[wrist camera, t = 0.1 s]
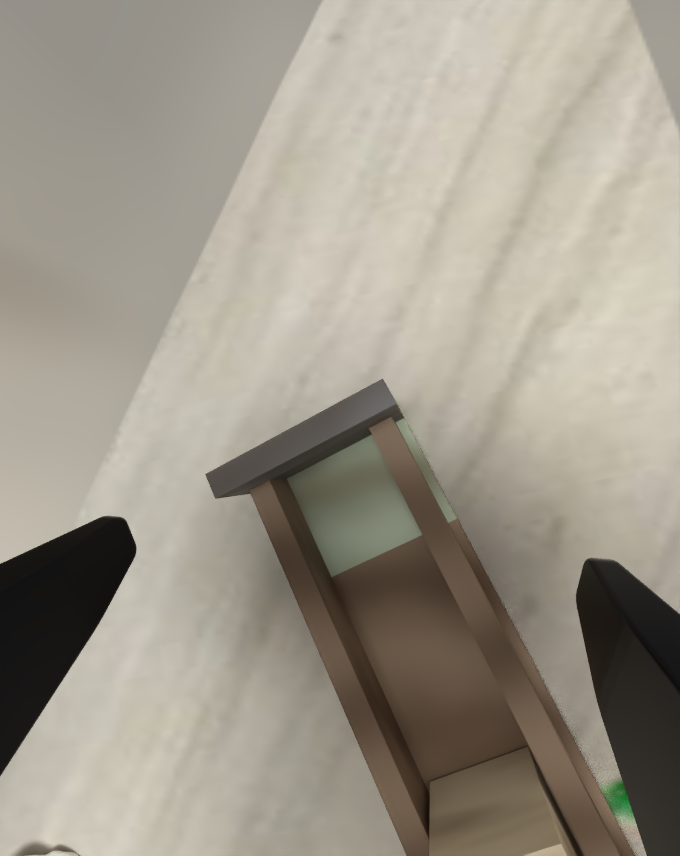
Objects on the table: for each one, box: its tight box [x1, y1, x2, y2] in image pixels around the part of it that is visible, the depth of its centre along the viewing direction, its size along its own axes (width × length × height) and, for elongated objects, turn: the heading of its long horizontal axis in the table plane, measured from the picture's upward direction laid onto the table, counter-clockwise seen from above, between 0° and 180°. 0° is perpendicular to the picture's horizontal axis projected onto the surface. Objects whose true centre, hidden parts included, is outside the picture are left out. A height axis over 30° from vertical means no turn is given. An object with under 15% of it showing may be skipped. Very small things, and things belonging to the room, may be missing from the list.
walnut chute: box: [205, 379, 635, 856], centre depth 18 cm, size 26×9×6 cm, turn 26°
